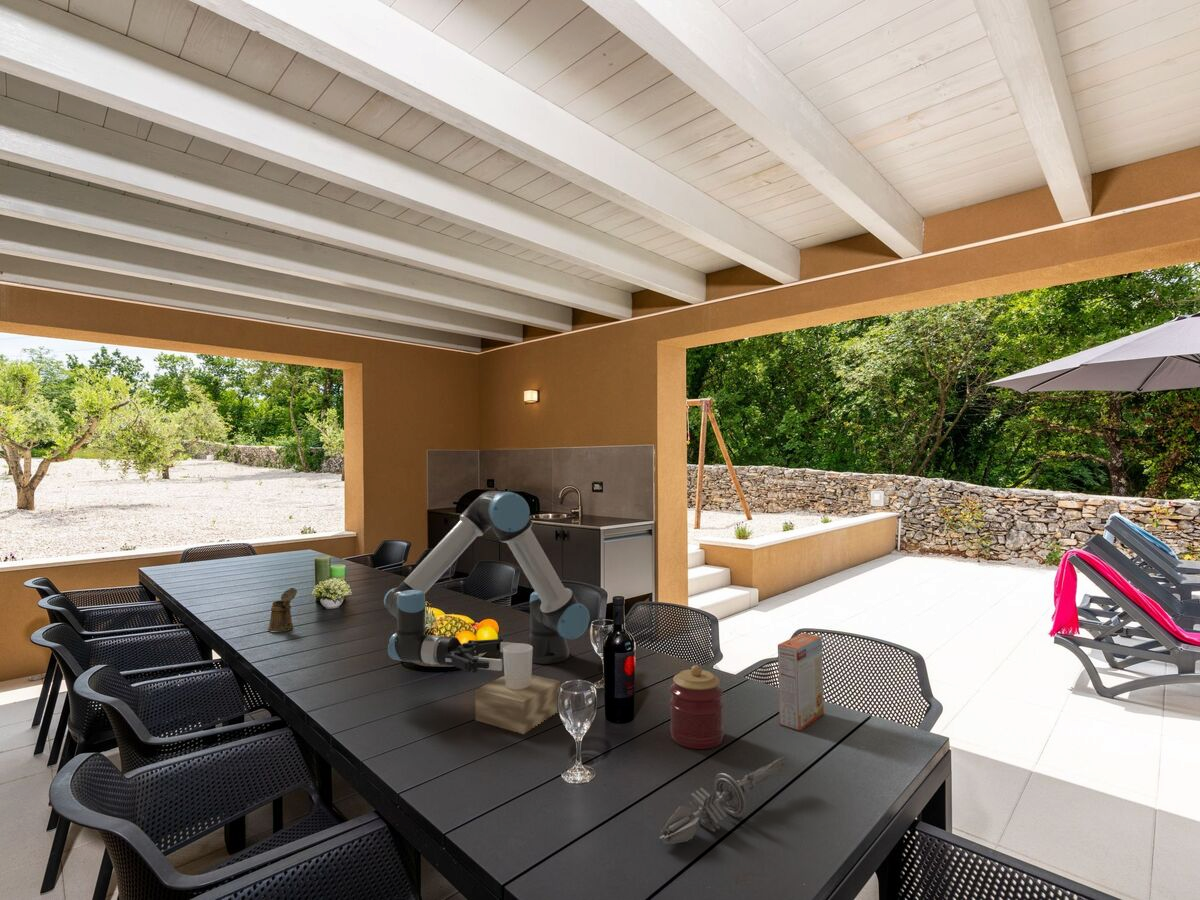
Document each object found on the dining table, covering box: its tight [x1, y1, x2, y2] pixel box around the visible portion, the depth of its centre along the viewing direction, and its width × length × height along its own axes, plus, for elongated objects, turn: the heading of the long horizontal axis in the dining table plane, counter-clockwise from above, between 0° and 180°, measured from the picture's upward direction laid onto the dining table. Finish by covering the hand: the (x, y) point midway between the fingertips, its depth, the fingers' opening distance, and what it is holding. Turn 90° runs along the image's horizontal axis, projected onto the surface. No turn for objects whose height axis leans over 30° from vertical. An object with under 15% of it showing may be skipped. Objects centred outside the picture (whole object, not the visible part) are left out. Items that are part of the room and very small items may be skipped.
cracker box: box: [777, 632, 825, 732], centre depth 155 cm, size 14×6×21 cm, turn 134°
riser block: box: [474, 674, 561, 735], centre depth 159 cm, size 16×16×8 cm
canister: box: [669, 664, 725, 750], centre depth 146 cm, size 13×13×18 cm
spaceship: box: [659, 755, 789, 845], centre depth 114 cm, size 8×35×8 cm
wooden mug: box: [267, 587, 298, 632], centre depth 240 cm, size 9×14×18 cm, turn 55°
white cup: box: [502, 642, 533, 690], centre depth 159 cm, size 8×8×10 cm
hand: (512, 656), depth 159 cm, fingers open, 13 cm apart
